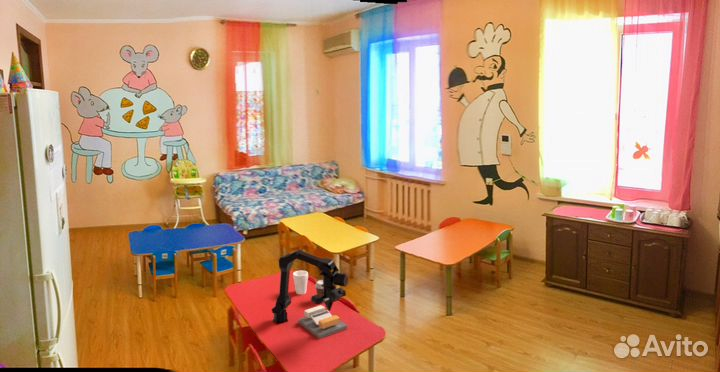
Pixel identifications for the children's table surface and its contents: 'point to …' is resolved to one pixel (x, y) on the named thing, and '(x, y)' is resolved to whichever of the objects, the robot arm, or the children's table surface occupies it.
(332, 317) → the orange key
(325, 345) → the children's table surface
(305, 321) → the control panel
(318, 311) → the cream key
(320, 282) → the coffee cup
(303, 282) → the foam cup
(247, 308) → the children's table surface
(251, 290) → the children's table surface
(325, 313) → the cream plate with stripe
